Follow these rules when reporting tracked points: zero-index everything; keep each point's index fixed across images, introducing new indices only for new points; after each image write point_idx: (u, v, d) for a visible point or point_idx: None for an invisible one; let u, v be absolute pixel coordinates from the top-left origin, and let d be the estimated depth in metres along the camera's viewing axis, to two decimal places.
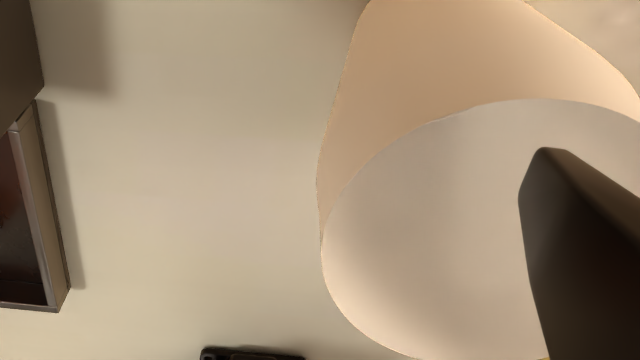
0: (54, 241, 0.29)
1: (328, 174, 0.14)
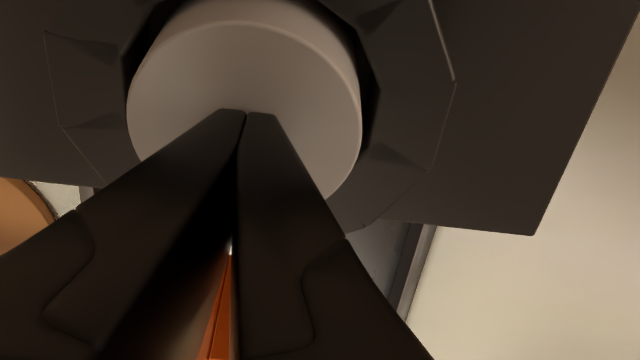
0: None
1: None
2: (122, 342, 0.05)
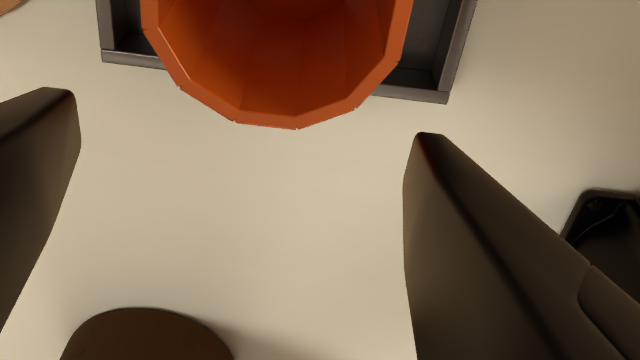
0: None
1: None
2: None
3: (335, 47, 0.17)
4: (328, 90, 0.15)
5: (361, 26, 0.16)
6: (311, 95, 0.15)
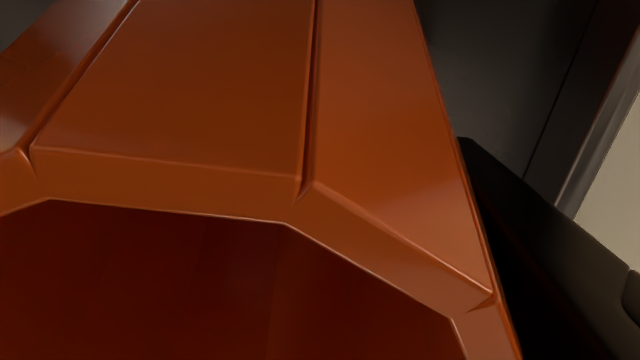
0: None
1: None
2: None
3: (333, 320, 0.09)
4: None
5: (383, 297, 0.08)
6: None
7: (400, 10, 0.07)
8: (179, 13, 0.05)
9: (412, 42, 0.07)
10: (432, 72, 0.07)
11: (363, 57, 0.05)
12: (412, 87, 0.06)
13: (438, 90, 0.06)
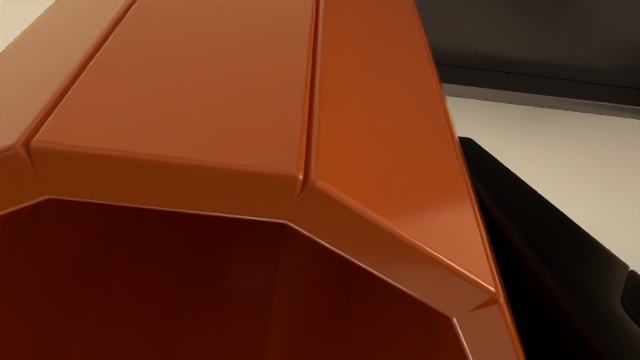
0: None
1: None
2: None
3: (333, 320, 0.09)
4: None
5: (384, 297, 0.08)
6: None
7: (401, 9, 0.07)
8: (180, 11, 0.05)
9: (413, 41, 0.07)
10: (433, 71, 0.07)
11: (364, 56, 0.05)
12: (413, 86, 0.06)
13: (439, 89, 0.06)
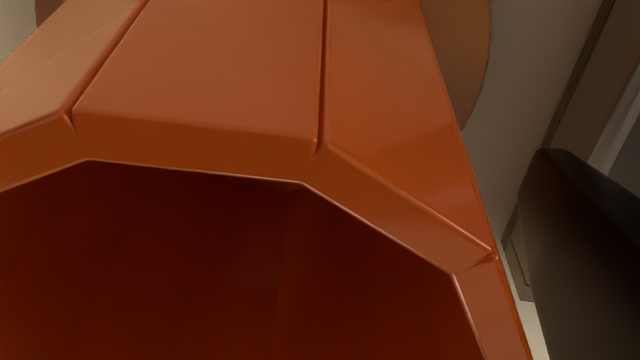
0: None
1: None
2: None
3: (338, 300, 0.09)
4: None
5: (386, 276, 0.09)
6: None
7: None
8: None
9: (415, 29, 0.07)
10: (434, 57, 0.07)
11: (370, 39, 0.06)
12: (415, 69, 0.06)
13: (440, 73, 0.07)
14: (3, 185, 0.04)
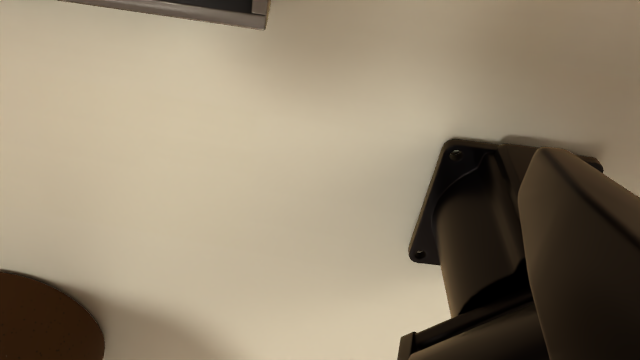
0: None
1: None
2: None
3: None
4: None
5: None
6: None
7: None
8: None
9: None
10: None
11: None
12: None
13: None
14: None
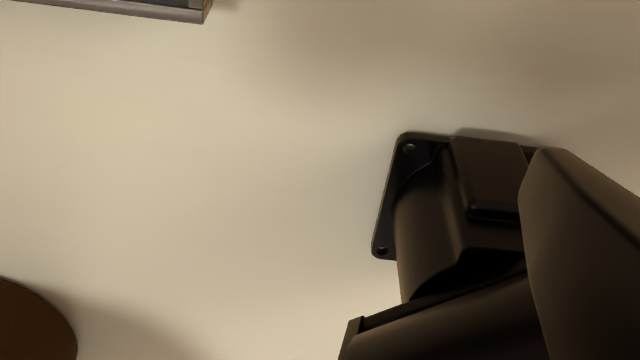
0: None
1: None
2: None
3: None
4: None
5: None
6: None
7: None
8: None
9: None
10: None
11: None
12: None
13: None
14: None
